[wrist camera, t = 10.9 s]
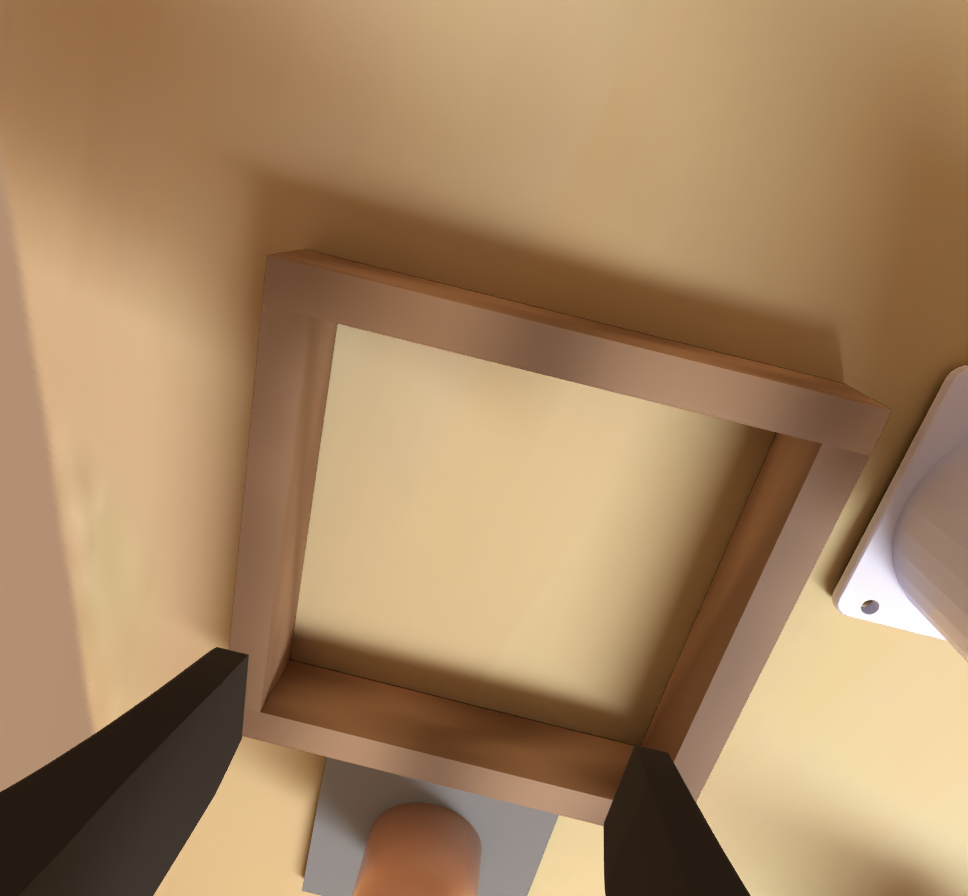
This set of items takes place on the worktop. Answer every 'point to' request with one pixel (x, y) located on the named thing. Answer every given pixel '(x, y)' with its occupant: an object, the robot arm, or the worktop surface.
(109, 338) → the worktop surface
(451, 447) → the worktop surface
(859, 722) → the worktop surface
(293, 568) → the frame
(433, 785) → the slate mat
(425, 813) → the terracotta pot
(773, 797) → the worktop surface
